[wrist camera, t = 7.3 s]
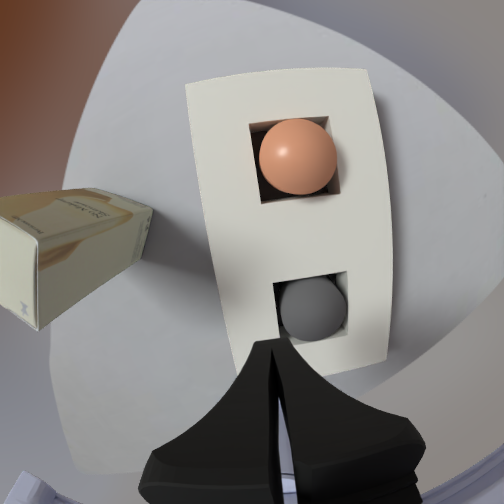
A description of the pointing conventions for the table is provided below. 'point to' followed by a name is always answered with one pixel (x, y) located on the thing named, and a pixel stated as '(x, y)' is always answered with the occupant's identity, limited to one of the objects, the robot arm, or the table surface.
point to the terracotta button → (297, 157)
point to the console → (296, 210)
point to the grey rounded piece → (311, 307)
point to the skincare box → (64, 248)
